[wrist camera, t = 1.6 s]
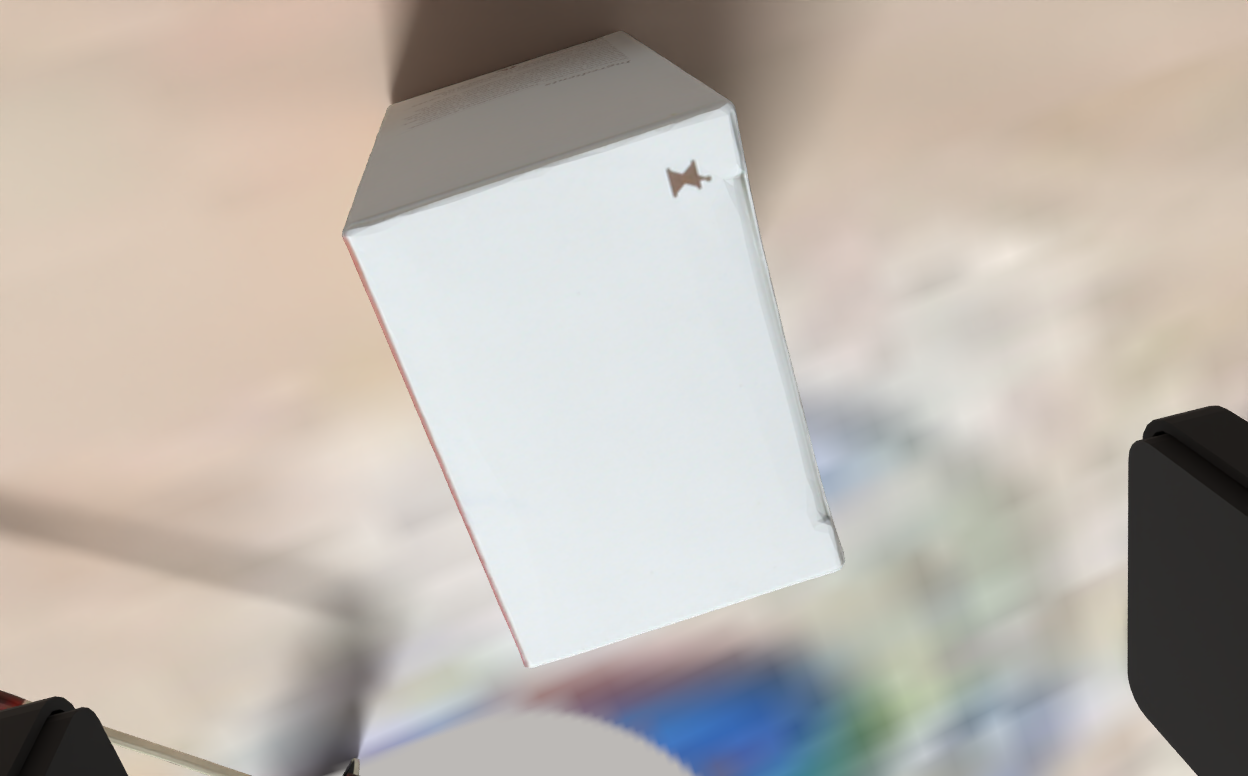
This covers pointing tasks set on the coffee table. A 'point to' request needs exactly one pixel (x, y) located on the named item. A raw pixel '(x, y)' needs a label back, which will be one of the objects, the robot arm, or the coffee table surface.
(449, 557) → the coffee table surface
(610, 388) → the small box
